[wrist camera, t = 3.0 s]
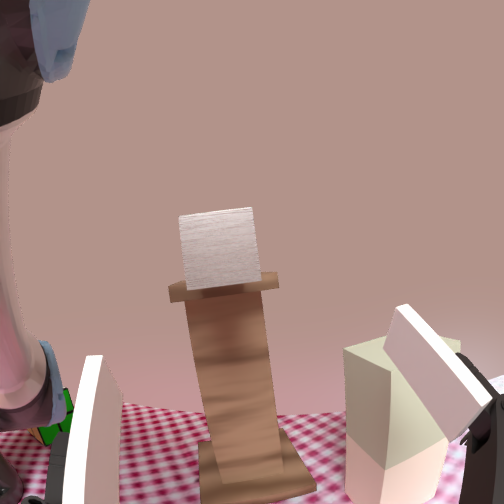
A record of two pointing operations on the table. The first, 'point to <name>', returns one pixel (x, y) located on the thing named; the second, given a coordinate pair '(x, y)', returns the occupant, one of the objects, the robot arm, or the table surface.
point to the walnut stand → (239, 398)
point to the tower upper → (385, 405)
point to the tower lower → (393, 476)
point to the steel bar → (219, 248)
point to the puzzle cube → (49, 433)
